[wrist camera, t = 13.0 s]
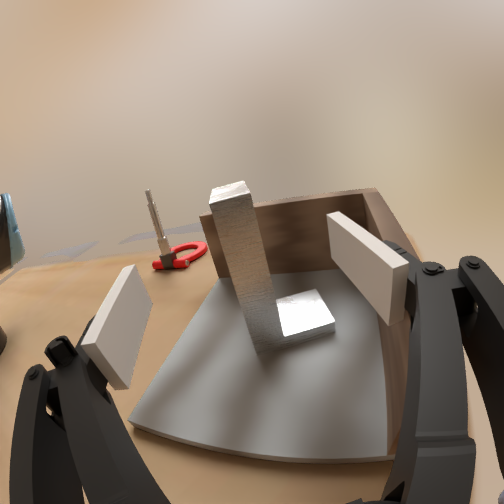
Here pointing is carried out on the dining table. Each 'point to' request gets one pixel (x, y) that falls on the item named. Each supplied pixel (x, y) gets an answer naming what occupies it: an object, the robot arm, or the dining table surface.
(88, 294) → the dining table surface
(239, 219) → the bracket
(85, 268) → the dining table surface
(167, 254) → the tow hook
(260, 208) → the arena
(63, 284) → the dining table surface
